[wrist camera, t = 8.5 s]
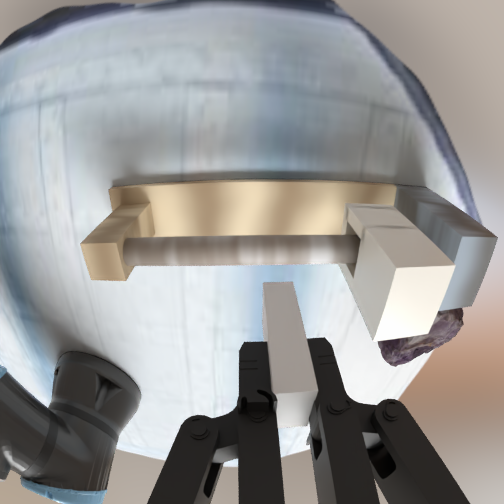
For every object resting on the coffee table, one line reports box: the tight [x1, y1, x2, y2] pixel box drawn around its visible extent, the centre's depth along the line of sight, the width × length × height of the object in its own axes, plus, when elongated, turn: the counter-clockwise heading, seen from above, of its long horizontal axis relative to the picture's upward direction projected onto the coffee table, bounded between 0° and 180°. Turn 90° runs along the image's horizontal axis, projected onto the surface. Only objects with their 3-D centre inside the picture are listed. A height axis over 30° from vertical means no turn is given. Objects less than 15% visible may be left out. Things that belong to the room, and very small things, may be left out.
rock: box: [378, 308, 463, 367], centre depth 27 cm, size 12×9×10 cm
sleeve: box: [339, 203, 456, 342], centre depth 18 cm, size 4×5×9 cm
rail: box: [80, 179, 498, 311], centre depth 21 cm, size 30×6×11 cm, turn 91°
